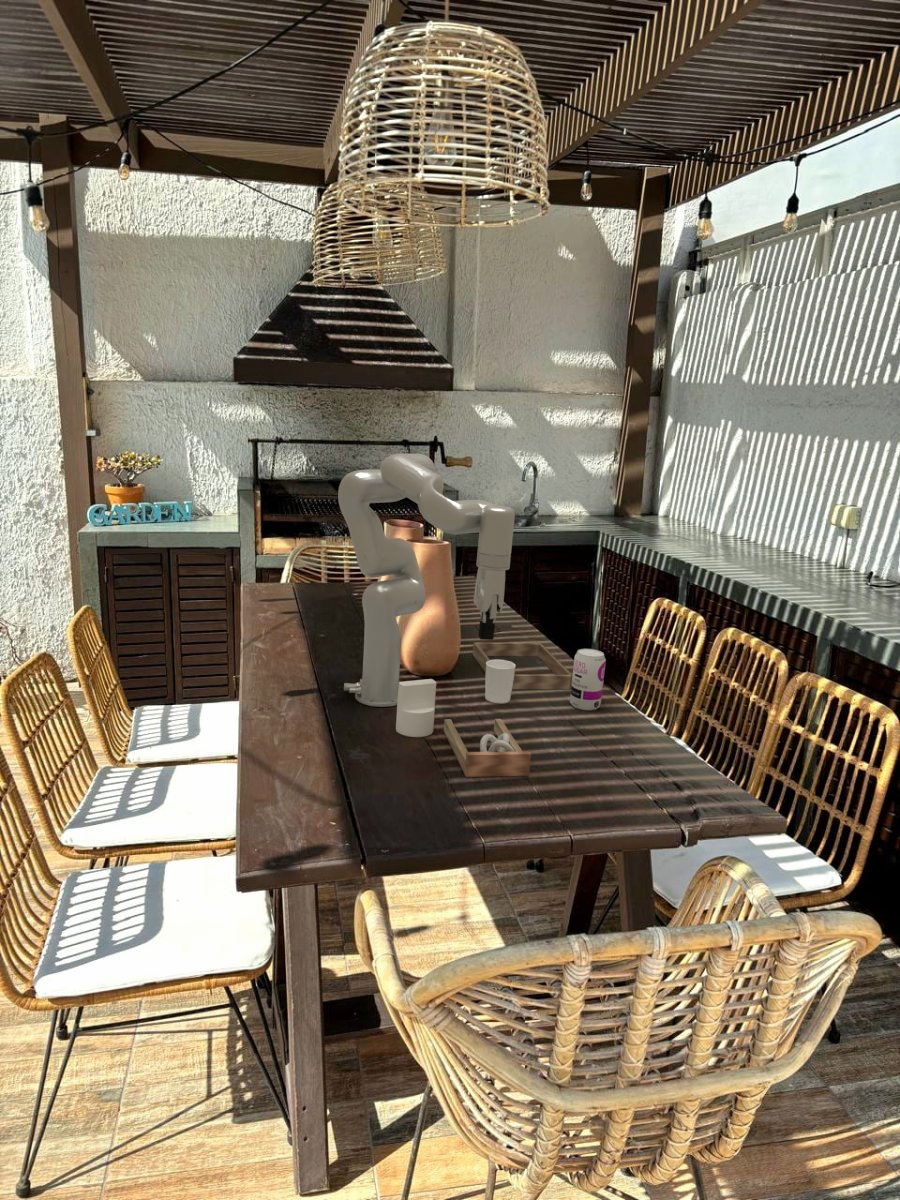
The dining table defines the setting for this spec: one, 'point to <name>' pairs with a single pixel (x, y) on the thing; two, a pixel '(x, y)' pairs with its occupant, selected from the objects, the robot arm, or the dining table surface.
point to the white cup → (499, 680)
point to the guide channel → (489, 755)
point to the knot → (496, 743)
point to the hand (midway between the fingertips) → (485, 638)
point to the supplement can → (587, 679)
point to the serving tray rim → (556, 681)
